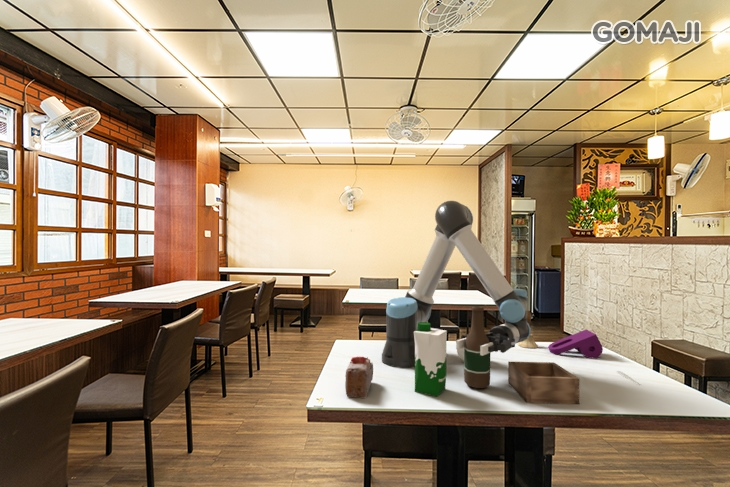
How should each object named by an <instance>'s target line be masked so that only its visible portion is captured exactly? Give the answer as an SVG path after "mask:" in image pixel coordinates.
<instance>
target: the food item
mask: <svg viewBox="0 0 730 487" xmlns="http://www.w3.org/2000/svg"><path fill="white" fill-rule="evenodd" d="M344 377H345V380H344V381H345V385H344V386H345V388H344V389H345V395H346V397H348V398H361V399H365V398H367V396H368V394H369V391H370V390H371V385H372V381H373V378H374V363H373V362H371V359H370V358H369V357H365V356H352V357H351V359H350V361H349V363H348V366H347V369H346V371H345V376H344Z"/></svg>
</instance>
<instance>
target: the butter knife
mask: <svg viewBox="0 0 730 487" xmlns="http://www.w3.org/2000/svg"><path fill="white" fill-rule="evenodd" d="M616 373H617V374H619V375H621V376H622V377H623V378H625V379H628V380H629V381H630V382H633V383H634V384H636V385H638V386H642V384H641V383H640V382H637V381H636V380H635V379H633V378H632V377H631V376H629V375H628V374H626V373H625V372H623V371H620V370H616Z"/></svg>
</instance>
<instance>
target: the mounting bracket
mask: <svg viewBox="0 0 730 487" xmlns="http://www.w3.org/2000/svg"><path fill="white" fill-rule="evenodd" d="M547 348H548V350H549V352H550V353H551V354H552V355H561V354H564V353H567V352H569V351H572V350H576V351H577V352H579V353H581V355H583V356H585V358H587V359H597V358H600V357H601V355H602V353H603V351H604V348H603V345H602V343H601V341H600V339H599V337H598V335H597V334H596V333H594V332H592V331H590V330H588V329H587V328H586V329H584V330H581V331H578V332H576V333H574V334H571V335H568V336H566V337H564V338H561V339H559V340H556V341H553V342H552V343H550V344H549V345H548V347H547Z"/></svg>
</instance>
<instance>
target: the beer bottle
mask: <svg viewBox="0 0 730 487" xmlns="http://www.w3.org/2000/svg"><path fill="white" fill-rule="evenodd" d="M471 311H472V312H471V325H470V332H469V333H467V334H468V336H467V337H466V340H465V346H464V362H463V379H464V380H463V381H464V383H465V384H466V385H467V386H469V387H471V388H472V387H473V388H475V389H480V388H481V389H486V388H488V387H489V386H490V385H491V353H488V354H486V355H483V356H482V355H480V346H482V345H485V344H487V343H490V342H489V339H488V337H487V336H486V334H485V332H486V331H485V324H484V322H485V320H484V311H485V309H484V307H483V306H479V305H474V306H472V307H471Z"/></svg>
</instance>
